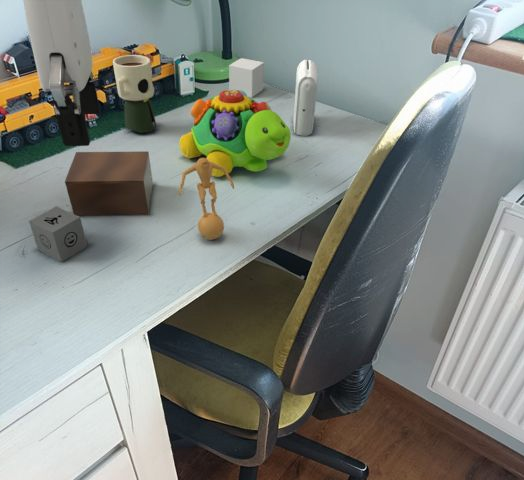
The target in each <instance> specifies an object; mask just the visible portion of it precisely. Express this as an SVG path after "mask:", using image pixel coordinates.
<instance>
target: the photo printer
mask: <svg viewBox="0 0 524 480" xmlns="http://www.w3.org/2000/svg"><path fill="white" fill-rule="evenodd" d="M318 73H319V72H318V68H317V65H316V63H315V62H314V61H313V60H312V59H309V60H307V59H303V60H302V61H301V62H300V63H299V64H298V66H297V68H296V73H295V74H296V75H295V91H294V105H293V121H292V124H293V132H294V134H296V135H297V136H300V137H301V136H302V137H307V136H310V135H312V134H313V130H314V123H315V116H316V115H315V114H316V105H317V93H318V83H319V75H318Z"/></svg>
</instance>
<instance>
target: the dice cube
mask: <svg viewBox="0 0 524 480" xmlns="http://www.w3.org/2000/svg"><path fill="white" fill-rule="evenodd" d="M28 224H29V226H30V230H31V232H32V236H33V238H34V241H35V244H36V246H37V250H38V251H39V252H41V253H43V254H45V255H47V256H49V257H50V258H53V259H55V260H57V261H59V262H60V263H63V262H65V261H66V260H68V259H69V258H71V257H73V256H74V255H76V254H77V253H79V252H81V251H82V250H83V249H86V248H87V247H88V242H87V238H86V235H85V231H84V226H83V222H82V219H81V216H77V215H75V214H73V212H70V211H68V210H65V209H64V208H61V207H59V206H54V207H53V208H50V209H48V210H47V211H44V212H43V213H41V214H39V215H37V216H35V217H34V218H32V219H30V220H28Z"/></svg>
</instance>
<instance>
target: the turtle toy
mask: <svg viewBox="0 0 524 480" xmlns="http://www.w3.org/2000/svg"><path fill="white" fill-rule="evenodd" d="M189 113H190V115H191V116H192V117H193V119H194V121H193V125H192V127H191V128H190V130H191V131H190V132H188V133H186V134H184V135H182V136H181V137H180V139H179V143H178V146H179V151H180V152H181V154H182V155H183V156H184V157H185V158H186V159H195V158H200V157H201V156H203V155H204V156H205V157H206V159H207V160H208V161H210V162H213V163H215V164H217V165H220V166H223V167H224V168H225V169H226V171H227V173H228V174H230V173H232V171H233V168H234V167H235V168H236V167H239V168H243V169H245V170H247V171H249V172H255V173H256V172H262V171H263V170H266V169H267V168H268V163H267V161H270V160H274V159H276V158H279V157H280V156H283V155H284V154H285V153H286V151H287V150H288V148H289V146H290V142H291V129H290V128H289V126H288V124H287V123H286V122H285V121H284V120H283V119H282V117H280V115H279V114H278V113H277V112H275V111H273V110H272V108H271V106H270V105H269V104H268V102H266V101H261V102H257V101H256V100H255V99H253V98H251V97H247V95H246V93H245V92H244V91H241V90H231V91H229V89H228V90H227V89H226V90H222V91H221V92H219V93H218V95H216V96H213V97H211V98H210V99H207V100H206V101H205V100H204V99H201V98H199V99H197V100H196V101H195V102H194V104H193V106H191V109H190V111H189ZM211 176H212V177H214V178H220V177H223V176H226V175H225V174H224V172H223V170H218V169H215V168H213V169H212V174H211Z"/></svg>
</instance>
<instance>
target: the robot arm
mask: <svg viewBox="0 0 524 480" xmlns="http://www.w3.org/2000/svg"><path fill="white" fill-rule="evenodd" d="M23 6H24V7H23V8H24V13H25V20H26V24H27V25H26V26H27V30H28V36H29V40H30V44H31V49H32V53H33V58H34V63H35V68H36V72H37V76H38V80H39V84H40V88H41V89H42V90H43V91H44V92H46V93H49V92H50V93H51V95H52V104H53V107H54V113H55V116H56V120H57V124H58V127H59V132H60V135H61V140H62V144H63V146H65V147H88V146H90V144H91V139H90V133H89V130H88V125H87V119H86V115H99V114H100V111H101V108H100V103H99V98H98V97H99V96H98V92H97V87H96V82H95V81H94V74H93V73H94V72H93V71H92V70H93V65H94V63H93V53H92V49H91V48H92V47H91V42H90V41H91V40H90V36H89V30H88V26H87V21H86V16H85V11H84V6H83V3H82V0H23ZM68 94H70V95H71V96H72V97H71V96H70V95H68Z"/></svg>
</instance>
